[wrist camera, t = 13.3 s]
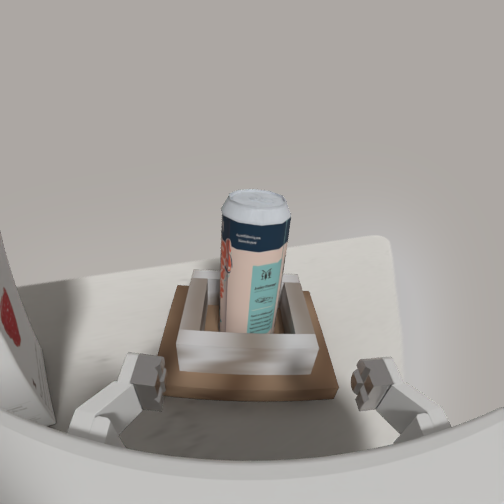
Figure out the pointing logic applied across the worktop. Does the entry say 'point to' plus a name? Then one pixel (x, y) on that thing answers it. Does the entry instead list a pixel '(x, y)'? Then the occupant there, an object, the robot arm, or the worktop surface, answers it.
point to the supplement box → (20, 356)
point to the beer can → (252, 260)
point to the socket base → (245, 349)
